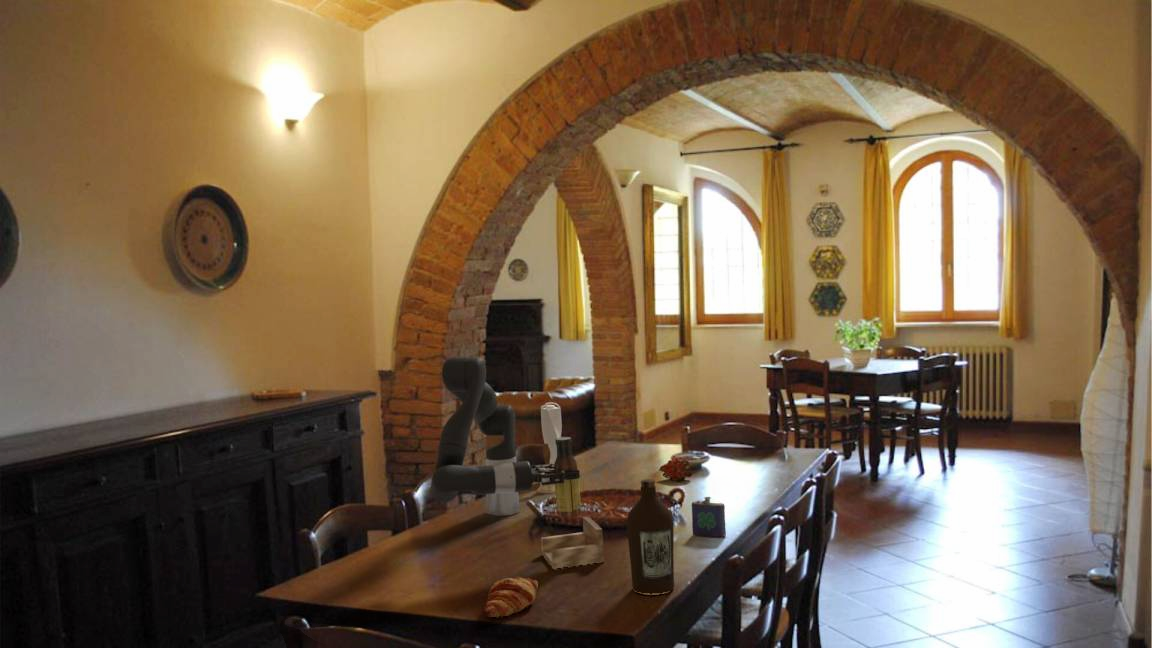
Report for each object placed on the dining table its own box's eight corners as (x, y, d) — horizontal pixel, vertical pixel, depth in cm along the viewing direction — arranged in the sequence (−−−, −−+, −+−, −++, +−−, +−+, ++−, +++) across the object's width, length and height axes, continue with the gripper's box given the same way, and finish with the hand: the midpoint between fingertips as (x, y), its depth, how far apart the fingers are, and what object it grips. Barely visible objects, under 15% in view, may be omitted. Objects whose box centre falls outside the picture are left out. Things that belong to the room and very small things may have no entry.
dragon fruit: (696, 486, 312) (662, 489, 317) (698, 467, 318) (665, 470, 323) (688, 469, 307) (654, 473, 312) (690, 450, 314) (657, 454, 318)
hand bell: (543, 494, 305) (540, 447, 304) (533, 490, 312) (530, 443, 311) (566, 490, 309) (563, 443, 308) (555, 486, 316) (552, 440, 315)
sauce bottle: (576, 510, 240) (573, 434, 239) (584, 516, 234) (581, 438, 233) (552, 513, 238) (549, 437, 237) (559, 519, 232) (556, 441, 231)
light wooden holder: (553, 569, 228) (551, 535, 227) (541, 554, 240) (540, 522, 240) (604, 562, 231) (602, 529, 231) (590, 548, 244) (588, 516, 243)
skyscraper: (562, 482, 321) (558, 402, 319) (540, 482, 323) (536, 403, 322) (570, 477, 329) (566, 399, 327) (549, 476, 331) (544, 399, 330)
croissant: (525, 603, 215) (509, 572, 217) (558, 587, 211) (542, 555, 213) (478, 636, 196) (461, 602, 197) (514, 619, 192) (496, 584, 194)
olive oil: (624, 584, 214) (618, 478, 213) (668, 578, 216) (662, 473, 215) (637, 600, 204) (631, 488, 202) (683, 593, 206) (677, 483, 205)
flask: (727, 536, 248) (725, 496, 247) (723, 539, 245) (721, 499, 245) (694, 533, 252) (692, 494, 251) (690, 536, 249) (688, 497, 249)
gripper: (516, 468, 225) (582, 461, 229) (505, 457, 239) (568, 451, 243) (517, 498, 225) (583, 491, 229) (506, 486, 239) (569, 480, 243)
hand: (575, 471), depth 236 cm, fingers closed on sauce bottle, 6 cm apart
